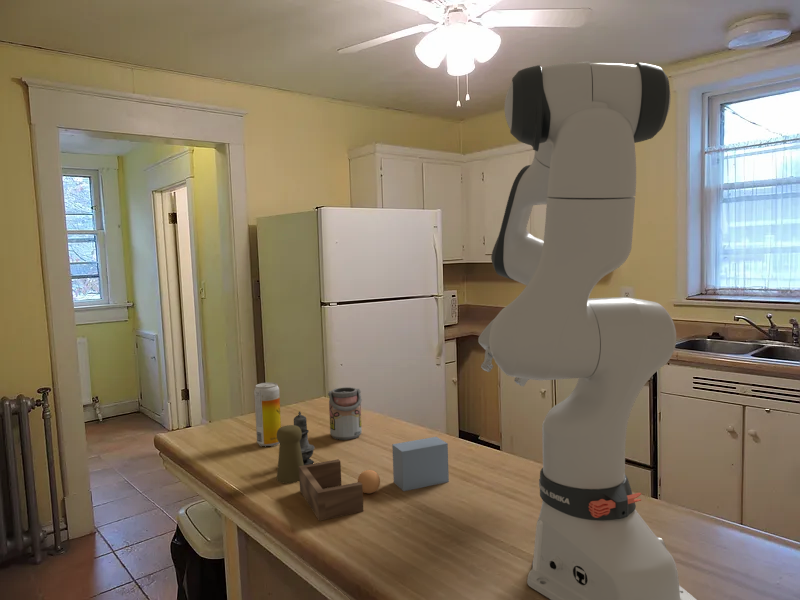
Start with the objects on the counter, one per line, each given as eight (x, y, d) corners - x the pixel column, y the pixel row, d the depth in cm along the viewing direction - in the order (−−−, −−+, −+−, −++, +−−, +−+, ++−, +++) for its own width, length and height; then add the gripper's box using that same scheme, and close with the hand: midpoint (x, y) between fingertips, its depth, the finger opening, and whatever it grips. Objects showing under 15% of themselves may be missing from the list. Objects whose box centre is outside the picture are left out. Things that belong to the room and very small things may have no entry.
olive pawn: (299, 483, 117) (297, 431, 116) (272, 482, 118) (269, 430, 117) (310, 472, 122) (307, 422, 122) (283, 471, 124) (281, 422, 123)
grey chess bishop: (303, 470, 124) (300, 416, 123) (283, 465, 127) (280, 413, 126) (320, 461, 129) (318, 409, 128) (301, 457, 132) (298, 406, 131)
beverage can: (365, 440, 143) (363, 393, 142) (332, 443, 141) (330, 396, 140) (359, 429, 152) (358, 385, 151) (328, 432, 150) (326, 388, 149)
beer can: (286, 441, 144) (284, 383, 143) (269, 449, 139) (266, 388, 138) (269, 438, 147) (266, 381, 146) (251, 445, 142) (248, 386, 141)
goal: (363, 511, 103) (362, 484, 103) (319, 520, 100) (317, 493, 99) (339, 483, 116) (338, 459, 116) (300, 490, 113) (298, 466, 113)
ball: (383, 494, 110) (383, 472, 110) (362, 499, 108) (361, 476, 108) (375, 486, 114) (375, 464, 114) (354, 490, 112) (354, 468, 112)
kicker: (448, 482, 115) (447, 443, 115) (403, 491, 111) (402, 451, 111) (437, 473, 120) (436, 436, 119) (393, 482, 116) (392, 444, 115)
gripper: (493, 303, 124) (458, 354, 121) (569, 324, 108) (532, 384, 105) (507, 319, 128) (473, 369, 125) (583, 342, 112) (546, 400, 109)
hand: (501, 376), depth 115 cm, fingers open, 8 cm apart
